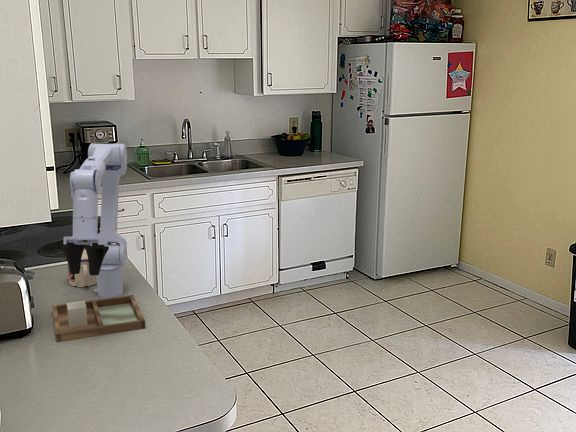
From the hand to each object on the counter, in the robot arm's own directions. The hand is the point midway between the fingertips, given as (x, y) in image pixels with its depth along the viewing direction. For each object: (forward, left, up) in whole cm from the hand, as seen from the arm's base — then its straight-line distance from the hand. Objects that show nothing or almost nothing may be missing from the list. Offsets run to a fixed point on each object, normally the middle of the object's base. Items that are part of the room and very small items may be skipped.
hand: (84, 274), depth 143 cm
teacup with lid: (-36, +2, -16) cm, 39 cm away
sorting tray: (-6, +3, -16) cm, 17 cm away
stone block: (-6, -2, -15) cm, 16 cm away
